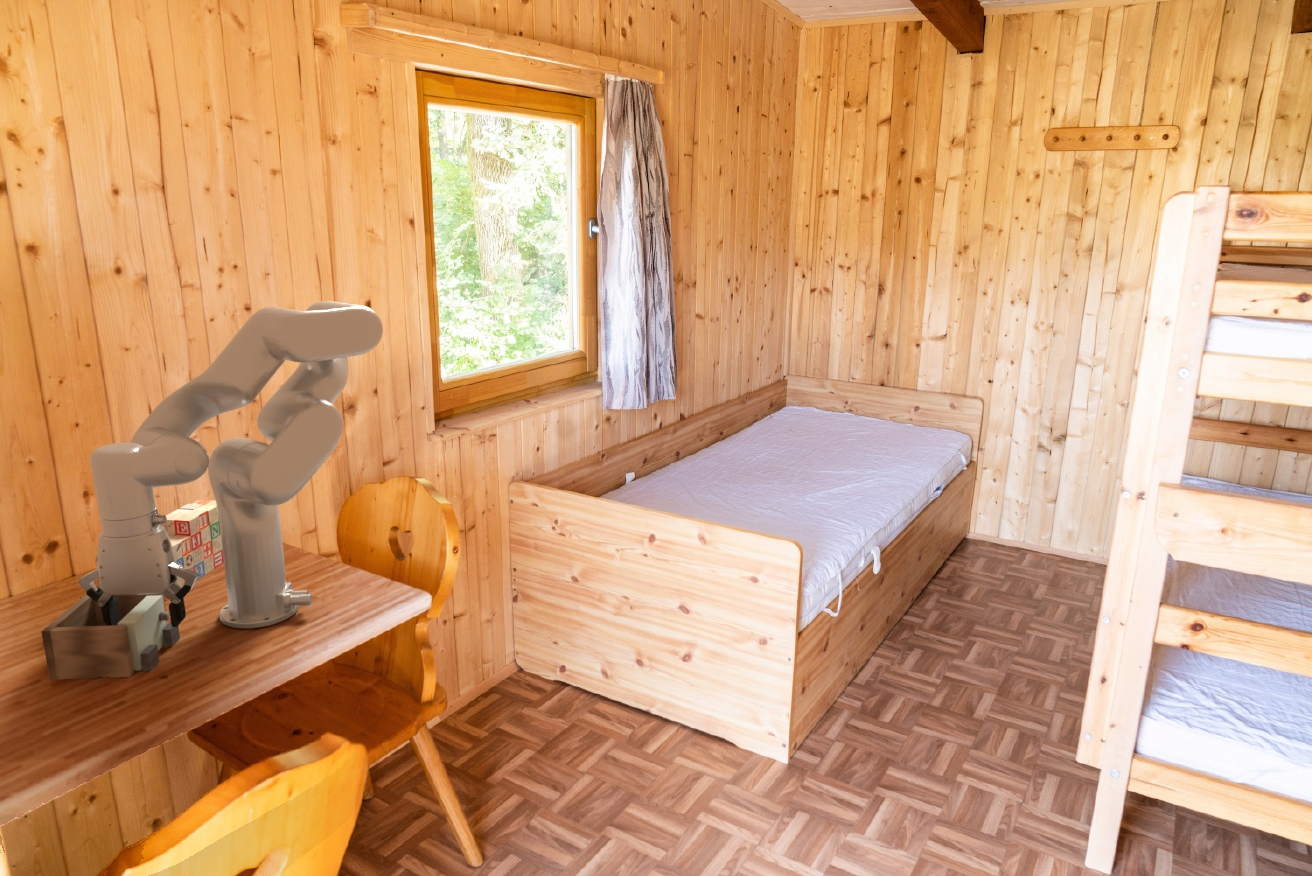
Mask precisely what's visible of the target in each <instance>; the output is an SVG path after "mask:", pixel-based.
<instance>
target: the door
mask: <svg viewBox="0 0 1312 876" xmlns="http://www.w3.org/2000/svg"><path fill="white" fill-rule="evenodd" d="M164 604H165V601H164V602H163V595H157V596H146V597H145V598H144V599H143V600H142V601H141V602H140V603H139V604H138V605H137V606H136V607H135V608H134V609H132V610H131V611H130V612H129V613H128V614H127V615H126V616H125V617H124V618H123V619H122V620H121V621H120V622H119V623H118V625H127V629H128V636H129V643H130V650H131V657H132V664H133V671H142V670H143V669H142V662H141V655H140V654H141V653H142V652H143V651H144V649H145V648H146V647H147V646H148V645H152V644H157V648H158V650H159V651H160V650H161V649H162V648H163V646H165V645H164V638H163V629H164V628H165V627H166V626H167V625H166V621H167V622H168V620H169V619H170V612H169V611H166V609H165V610H164Z"/></svg>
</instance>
